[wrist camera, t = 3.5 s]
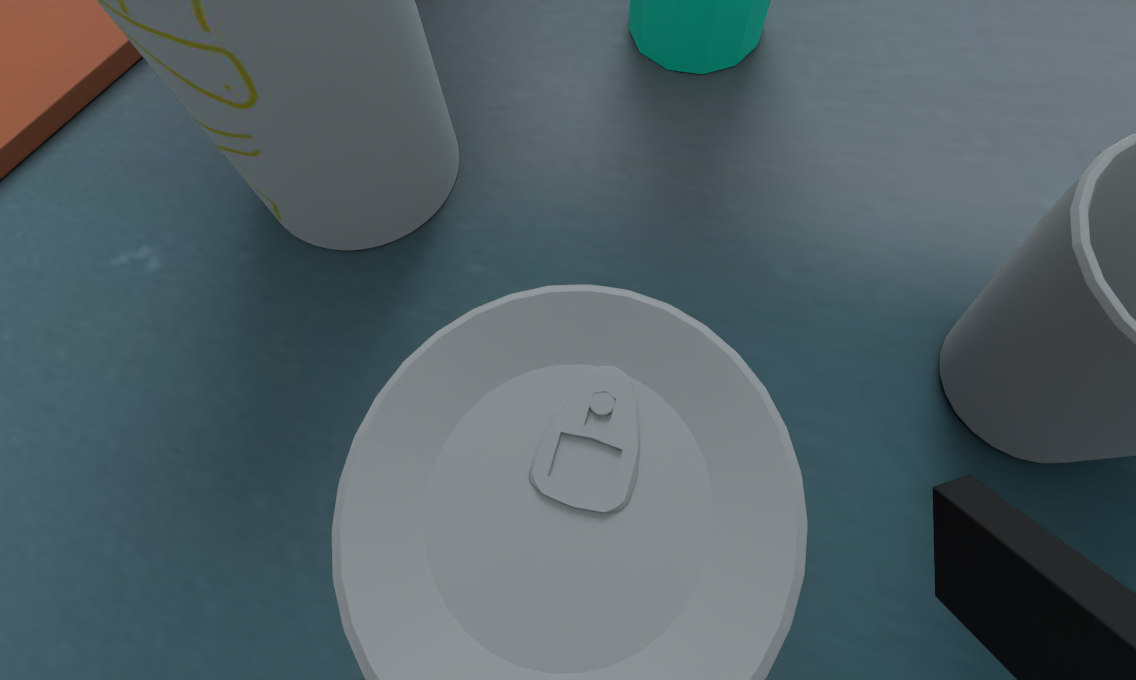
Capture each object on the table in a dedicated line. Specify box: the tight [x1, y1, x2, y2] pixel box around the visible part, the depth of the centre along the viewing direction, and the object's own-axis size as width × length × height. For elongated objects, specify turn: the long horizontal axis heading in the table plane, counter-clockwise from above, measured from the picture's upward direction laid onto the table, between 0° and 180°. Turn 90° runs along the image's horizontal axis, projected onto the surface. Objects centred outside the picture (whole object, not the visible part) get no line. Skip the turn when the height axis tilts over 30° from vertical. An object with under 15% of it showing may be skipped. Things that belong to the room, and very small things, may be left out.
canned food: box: [332, 284, 808, 680], centre depth 15 cm, size 8×8×11 cm
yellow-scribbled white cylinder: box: [96, 0, 459, 250], centre depth 21 cm, size 8×8×12 cm
